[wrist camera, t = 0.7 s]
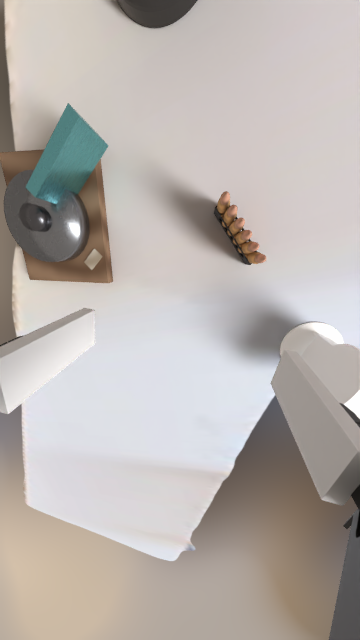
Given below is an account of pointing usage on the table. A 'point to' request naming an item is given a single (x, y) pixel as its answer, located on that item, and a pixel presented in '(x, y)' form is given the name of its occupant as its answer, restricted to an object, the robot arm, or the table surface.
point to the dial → (55, 193)
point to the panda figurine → (328, 360)
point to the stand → (97, 252)
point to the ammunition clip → (237, 231)
